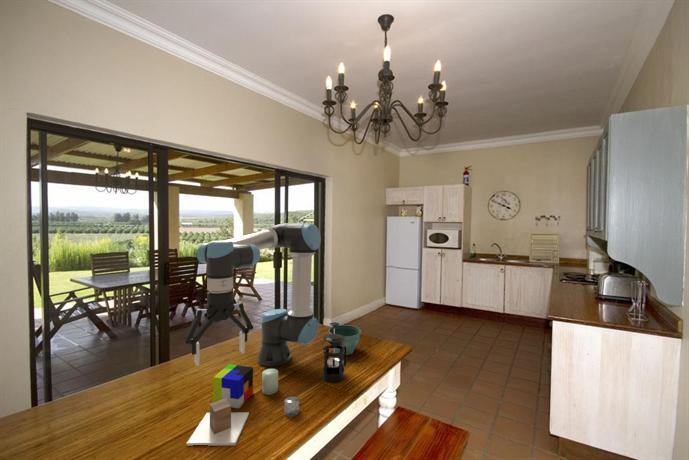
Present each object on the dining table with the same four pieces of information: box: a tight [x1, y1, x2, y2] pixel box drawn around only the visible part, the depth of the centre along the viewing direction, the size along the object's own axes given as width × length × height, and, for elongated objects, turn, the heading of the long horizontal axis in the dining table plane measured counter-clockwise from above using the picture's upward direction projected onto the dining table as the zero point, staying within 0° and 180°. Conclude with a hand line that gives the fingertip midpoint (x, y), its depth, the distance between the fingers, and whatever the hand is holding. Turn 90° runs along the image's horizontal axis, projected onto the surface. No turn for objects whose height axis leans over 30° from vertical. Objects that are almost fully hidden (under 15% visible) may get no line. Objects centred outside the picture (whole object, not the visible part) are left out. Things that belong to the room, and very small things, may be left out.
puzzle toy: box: [212, 363, 254, 409], centre depth 112 cm, size 10×10×10 cm
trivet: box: [186, 411, 250, 447], centre depth 96 cm, size 14×14×1 cm
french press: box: [321, 321, 347, 384], centre depth 129 cm, size 12×9×23 cm
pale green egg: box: [261, 368, 279, 396], centre depth 118 cm, size 6×6×7 cm
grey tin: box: [283, 396, 300, 418], centre depth 105 cm, size 5×5×4 cm
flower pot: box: [328, 324, 361, 356], centre depth 154 cm, size 16×16×11 cm
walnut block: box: [209, 398, 232, 434], centre depth 96 cm, size 5×5×7 cm
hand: (220, 358), depth 95 cm, fingers open, 13 cm apart
